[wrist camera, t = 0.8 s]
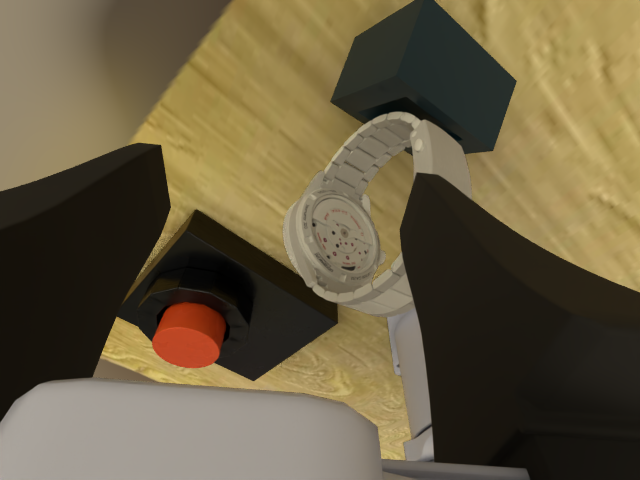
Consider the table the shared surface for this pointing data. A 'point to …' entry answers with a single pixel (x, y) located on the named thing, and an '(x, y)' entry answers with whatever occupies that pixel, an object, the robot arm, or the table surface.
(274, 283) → the box
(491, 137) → the watch
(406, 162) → the table surface
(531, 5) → the table surface
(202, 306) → the button
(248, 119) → the table surface
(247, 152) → the table surface
